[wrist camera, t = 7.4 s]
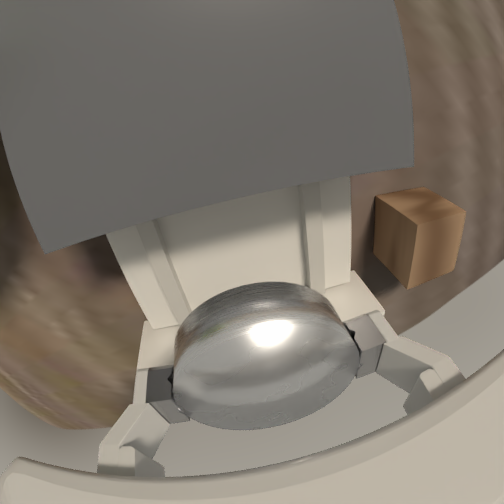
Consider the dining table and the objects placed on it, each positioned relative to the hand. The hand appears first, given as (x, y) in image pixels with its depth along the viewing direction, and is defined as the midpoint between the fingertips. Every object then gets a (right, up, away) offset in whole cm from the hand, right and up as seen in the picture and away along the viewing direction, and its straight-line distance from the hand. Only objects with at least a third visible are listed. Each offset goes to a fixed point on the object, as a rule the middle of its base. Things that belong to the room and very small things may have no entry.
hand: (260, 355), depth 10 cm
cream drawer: (-2, +6, +7) cm, 9 cm away
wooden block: (+11, +6, +10) cm, 17 cm away
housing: (-4, +15, +2) cm, 16 cm away
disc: (0, 0, 0) cm, 0 cm away
